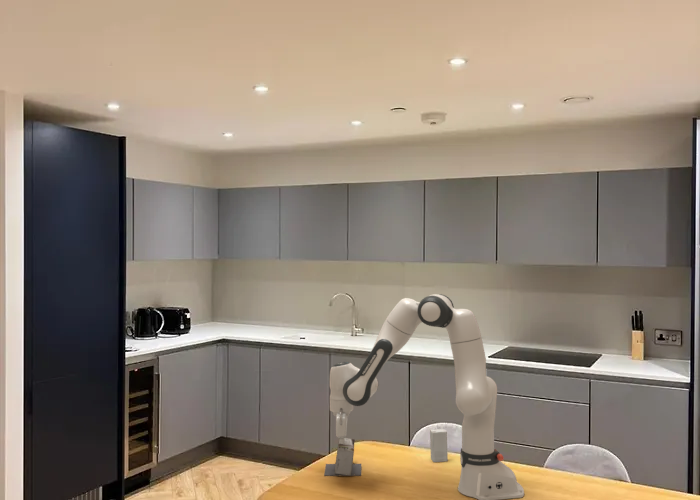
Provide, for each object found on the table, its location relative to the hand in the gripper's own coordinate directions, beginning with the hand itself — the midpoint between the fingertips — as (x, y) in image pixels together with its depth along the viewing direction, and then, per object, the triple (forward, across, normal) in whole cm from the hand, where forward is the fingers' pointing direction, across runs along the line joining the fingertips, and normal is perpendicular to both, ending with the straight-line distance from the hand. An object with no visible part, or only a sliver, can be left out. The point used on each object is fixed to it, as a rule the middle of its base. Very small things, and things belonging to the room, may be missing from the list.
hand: (342, 442), depth 236 cm
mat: (+13, +6, 0) cm, 14 cm away
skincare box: (+13, +16, -38) cm, 43 cm away
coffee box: (+8, -1, -1) cm, 8 cm away
